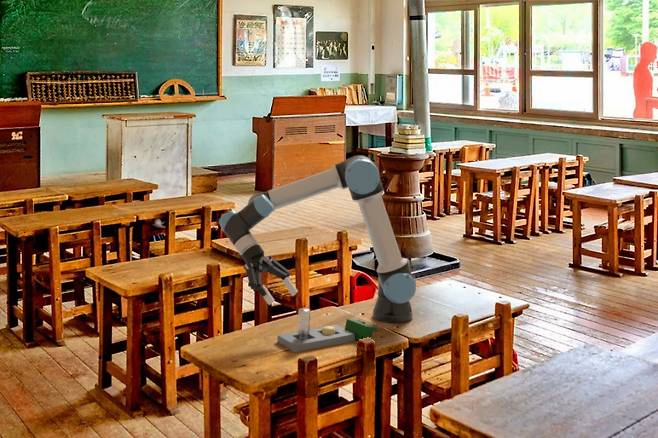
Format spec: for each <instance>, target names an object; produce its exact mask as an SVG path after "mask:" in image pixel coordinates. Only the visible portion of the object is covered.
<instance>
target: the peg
mask: <svg viewBox="0 0 658 438" xmlns="http://www.w3.org/2000/svg"><path fill="white" fill-rule="evenodd" d="M297 313H298V314H297V315H298V318H297V319H298V321H297V323H298V325H297V327H298V339H299V340H300V341H302V340H307V339H310V329H311V309H310V308H306V307H305V308H304V307H303V308H299V309H298V312H297Z"/></svg>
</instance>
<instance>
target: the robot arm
mask: <svg viewBox="0 0 658 438" xmlns="http://www.w3.org/2000/svg"><path fill="white" fill-rule="evenodd" d="M347 188H348V191H349V193H350V196H351V199H352V201H353V202H355V203H357V205H358V207H359V209H360V214H361V216H362V218H363V221H364V224H365V227H366V230H367V233H368V236H369V239H370V241H371V244H372V245H371V246H372V249H373V251H374V254H375V257H376V259H377V262H378V265H377V268H376V272H377V275H378V279H377V281H378V284H377V289H378V290H377V297H376V298H377V299H376V300H375V304H374V307H373V309H372V317H373V319H375V320H377V321H380V322H384V323H392V324H393V323H406V322H409V321H411V320H413V314H414V313H413V310H412V305H411V302H410V300H412V298H413V297H414V296H415V294H416V291H417V282H416V280H415V279H414V276H413V274H412V270H411V269H410V268H411V263H410V262H411V261H410V260H409V259H408V258H405V257H402V254H401V250H400V247H399V245H398V243H397V240H396V237H395V233H394V230H393V226H392V224H391V220H390V219H389V215H388V212H387V210H386V207H385V203H384V200H383V198H382V197H383V196H382V194H383V192H384V187H383V184H382V180H381V177H380V171H379V168H378V166H377V164H375V163H374V161H372V160H371V158H369V157H367V156H365V155H362V154H361V155H359V154H358V155H354V156H351V157H349V158H347V159H345V160H343V161H340V162H338V163H336V164H333V166H332V167H331V168H329V169H327V170H326V169H325V170H324V171H321V172H317V173H315V174H312V175H310V176H307V177H304V178H301V179H298V180H296V181H292V182H290V183H287V184H284V185H281V186H278V187H276V188H273V189H269V190H267V191H263V192H261V193H260V192H259V193H255V194H254V195H252V196H250V198H248V202H247V205H246V206H244V207H242V208H241V210H239V211H236V210H229V211H227V212H226V213H224V214H223V215H222V216H221V217H220V218H219V220H218V224H219V226H220V227H221V229H222V231H223V233H224V234H225V235H226V237H227V238H228V240H229V241H230V242H231V244H232V245H233V247H235V249H236V251H237V252H238V254H239V255H240V256H241V258H242V259H243V261H244V262H245V264H244V265H243V269H244V270H245V272H246V275H247V279H248V284H249V287H250V289H251V290H253V291H254V292H257V291H258V293H259V295H260V296H261V297H262V298H263V299H264V300H265V302H266V303H267V304H268V306H270V305H272V304H273V302H274V301H275V298H274V297H273V296H272V295H271V293H270V291H269V290H268V288H267V287H266V285H265V284H263V285H262V281H263V280H262V273H265V272H266V273H270V274H271V275H273V276H275V277H277V278H278V279H280V280H282V282H281V283H283V285H284V286H285V288H286V289H287V291H288V292H289V293H290V295H291V297H294V296H295V295H296V294H297V293H298V292H299V290H298V289H297V288H296V286H295V285H294V283H293V281H292V280H291V278H290V275H291V272H290V271H289V270H288V269H287V268H286V267H285V266H283V265H282V264H281V263H280V262H279V261H277V260H276V259H275V258H274V256H272V255H269V256H268V257H266V256H265V251H264V249H263V248H262V247H261V245H260V244H259V243H258V240H257V239H256V238H255V236H254V235H253V234H252V232H251V231H250V230H252V229H253V228H254V227H255V226H257V225H258V224H259V223H260V222H262V221H263V220H264V219H266V218H268V217H269V216H270V215H271V214H272V213H273V212H275V210H278V209H279V210H280V209H282V208H284V207H287V206H290V205H293V204H296V203H300V202H302V201H305V200H308V199H310V198H311V199H312V198H313V197H315V196H319V195H322V194H324V193H328V192H330V191H333V190H336V189H341V190H345V189H347Z"/></svg>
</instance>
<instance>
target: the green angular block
mask: <svg viewBox="0 0 658 438" xmlns="http://www.w3.org/2000/svg"><path fill="white" fill-rule="evenodd" d="M344 329H346V330H348V331H350V332H352V333H354V334H355V340H357V341H359V339H363V338H367V337H369V338H370V337H372V338H373V336H374V332H376V333H377V332H378V331H379V327H378V326H376V325H373V324H366V322H365V321H363V320H360V319H351V318H347V319H346V322H345V327H344ZM370 339H371V338H370Z"/></svg>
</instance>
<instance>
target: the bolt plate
mask: <svg viewBox="0 0 658 438" xmlns="http://www.w3.org/2000/svg"><path fill="white" fill-rule="evenodd" d="M349 341H351V342H355V341H356V339H355V334H354V333H352V332H350V331H348V330H346V329H345V327H342V326H340V325H339V324H332V325H326V326H321V327H314V328H310V339H307V340H302V341H300V340H299V339H298V331H294V332H292V331H291V332H287V333H280V334H277V343H278V344H281V345H282V346H284V347H286V348H287V349H288V350H290V351H291V352H293V353H298V352H304V351H310V350H314V349H320V348H325V347H329V346H335V345H341V344H346V343H350V342H349ZM345 342H346V343H345Z"/></svg>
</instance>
